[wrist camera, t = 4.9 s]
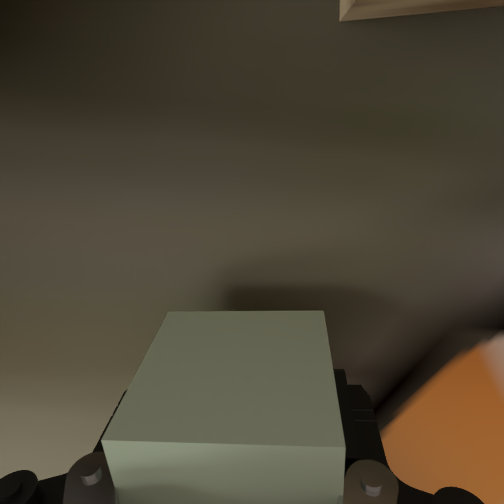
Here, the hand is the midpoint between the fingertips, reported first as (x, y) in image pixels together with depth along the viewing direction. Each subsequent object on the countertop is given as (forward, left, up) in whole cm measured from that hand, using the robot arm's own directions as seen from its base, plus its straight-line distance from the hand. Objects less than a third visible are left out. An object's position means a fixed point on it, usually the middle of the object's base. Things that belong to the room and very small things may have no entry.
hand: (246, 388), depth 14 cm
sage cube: (0, 0, -1) cm, 1 cm away
